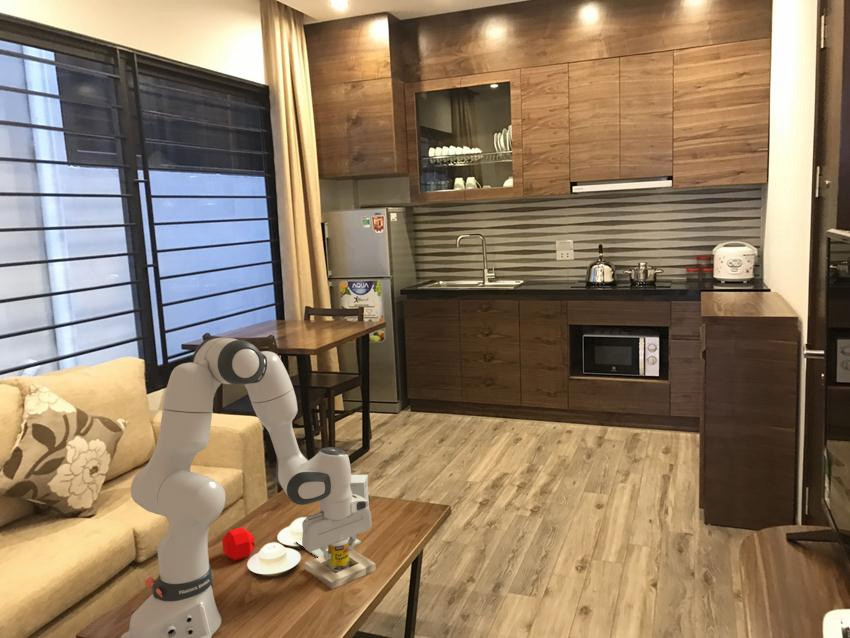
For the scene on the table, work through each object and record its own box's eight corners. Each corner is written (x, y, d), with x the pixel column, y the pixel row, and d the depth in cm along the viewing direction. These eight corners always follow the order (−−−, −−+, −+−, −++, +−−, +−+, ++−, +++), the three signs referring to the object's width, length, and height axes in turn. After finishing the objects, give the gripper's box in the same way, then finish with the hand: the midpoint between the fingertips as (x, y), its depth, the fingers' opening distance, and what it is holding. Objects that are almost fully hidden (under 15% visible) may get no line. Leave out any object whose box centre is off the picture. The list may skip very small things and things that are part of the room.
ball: (257, 557, 196) (255, 532, 195) (230, 566, 192) (228, 540, 191) (248, 546, 203) (246, 522, 202) (221, 555, 199) (219, 530, 198)
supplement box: (343, 520, 219) (341, 482, 217) (347, 510, 226) (345, 473, 224) (366, 520, 218) (364, 482, 216) (369, 510, 225) (367, 473, 223)
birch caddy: (332, 589, 178) (331, 582, 178) (304, 569, 189) (304, 562, 188) (375, 570, 187) (375, 563, 186) (347, 552, 197) (347, 545, 197)
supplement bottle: (334, 574, 183) (332, 538, 182) (325, 566, 188) (323, 531, 186) (353, 568, 186) (351, 532, 185) (344, 560, 191) (342, 525, 189)
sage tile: (320, 559, 194) (319, 557, 194) (295, 542, 205) (295, 540, 204) (360, 543, 203) (360, 541, 203) (335, 527, 213) (335, 526, 213)
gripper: (308, 521, 176) (311, 572, 178) (373, 499, 188) (375, 546, 190) (296, 514, 181) (299, 563, 182) (360, 493, 193) (362, 539, 195)
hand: (338, 554), depth 187 cm, fingers closed on supplement bottle, 6 cm apart
